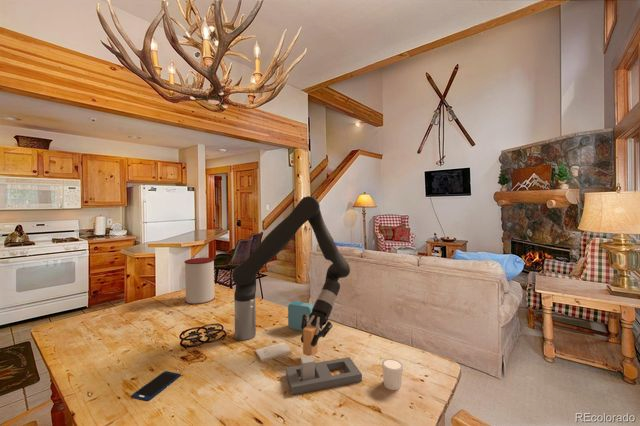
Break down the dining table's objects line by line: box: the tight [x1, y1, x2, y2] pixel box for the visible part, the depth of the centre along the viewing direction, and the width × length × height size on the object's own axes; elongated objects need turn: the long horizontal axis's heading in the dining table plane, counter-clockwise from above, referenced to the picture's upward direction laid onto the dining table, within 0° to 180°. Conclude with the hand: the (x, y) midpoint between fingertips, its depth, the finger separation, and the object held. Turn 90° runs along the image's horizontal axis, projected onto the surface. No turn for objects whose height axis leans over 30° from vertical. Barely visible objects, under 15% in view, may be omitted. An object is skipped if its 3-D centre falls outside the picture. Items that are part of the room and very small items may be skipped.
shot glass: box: [381, 358, 404, 391], centre depth 94 cm, size 7×7×7 cm
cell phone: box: [130, 370, 182, 402], centre depth 94 cm, size 7×14×1 cm, turn 164°
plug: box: [302, 325, 319, 357], centre depth 110 cm, size 4×4×10 cm
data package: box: [287, 300, 314, 332], centre depth 136 cm, size 12×4×12 cm, turn 66°
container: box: [184, 257, 216, 305], centre depth 177 cm, size 17×17×25 cm
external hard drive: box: [254, 341, 292, 362], centre depth 114 cm, size 2×8×12 cm
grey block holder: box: [285, 355, 363, 396], centre depth 97 cm, size 24×11×8 cm, turn 106°
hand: (307, 343), depth 108 cm, fingers closed on plug, 4 cm apart
